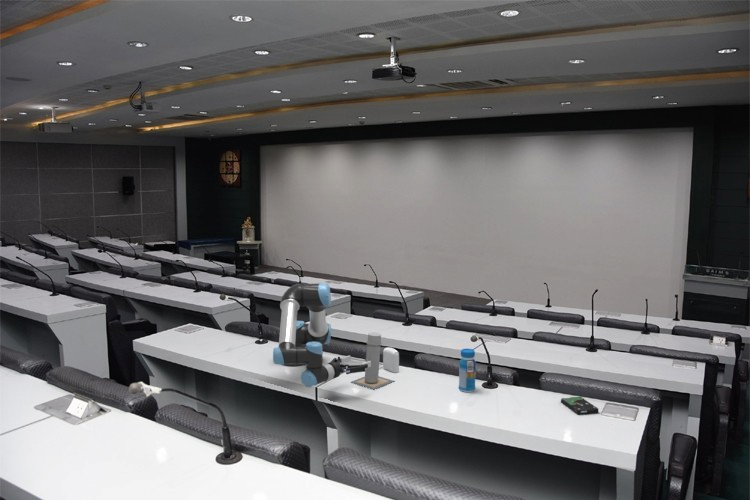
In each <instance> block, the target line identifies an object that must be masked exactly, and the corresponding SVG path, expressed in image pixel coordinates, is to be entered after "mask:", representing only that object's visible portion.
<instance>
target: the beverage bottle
mask: <svg viewBox="0 0 750 500" xmlns="http://www.w3.org/2000/svg"><path fill="white" fill-rule="evenodd" d="M475 356H476V351H475V349H473V348H462V349H461V350H460V357H461V359H460V360H459V363H458V364H459V366H458V372H459V374H458V389H459V391H460V392H464V393H472V392H473V393H474V392H475V390H476V372H477V367H476V366H477V363H476V360H475Z"/></svg>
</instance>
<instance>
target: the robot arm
mask: <svg viewBox="0 0 750 500" xmlns="http://www.w3.org/2000/svg"><path fill="white" fill-rule="evenodd" d="M331 304H332V295H331V288H330V285H329V284H328V283H322V282H321V283H296V284H293V285H292V286H290V287H288V288H287V290H286V291H285V292H284V293H283V294H282V297H281V298H280V303H279V307H280V310H281V317H280V325H279V327H280V328H279V338H278V346H277V347H274V348H273V351H272V362H273V363H274V365H281V366H287V367H301V366H304V365H305V370H304V371H302V372H301V375H300V380H301V383H302V385H303V386H305V388H310V387H315V386H317V385H320V384H322V383H326V382H328V381H330V380H331V381H332V380H333V379H336V378H338V377H340V375H341V374H344V373H345V374H346V375H350V374H355V373H365V369H366V368H368V367H371V361H368V362H366V361H365V362H363V363H361V364H351V365H350V364H346V363H349V362H351V359H352V356H351V355H347V356H344V357H343V356H342V357H340V356H337V357H334V358H333V359H332V360H331V361H329V362H328V363H324V364H323V362H324V361H323V355H324V354H323V352H324V351H323V345H328V344H329V343H330V342H331V338H332V337H331V335H332V326H331V325H332V324H330V323H328V322H327V320H326V319H327V318H326V317H327V315H326V314H327V313H326V309H327V308H328V307H330V306H331ZM300 307H301V308H303V307H306V308H307V309H308V310H309V311H308V312H309V323H305V321H304V320H297V319H298V311H299V310H300Z"/></svg>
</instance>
